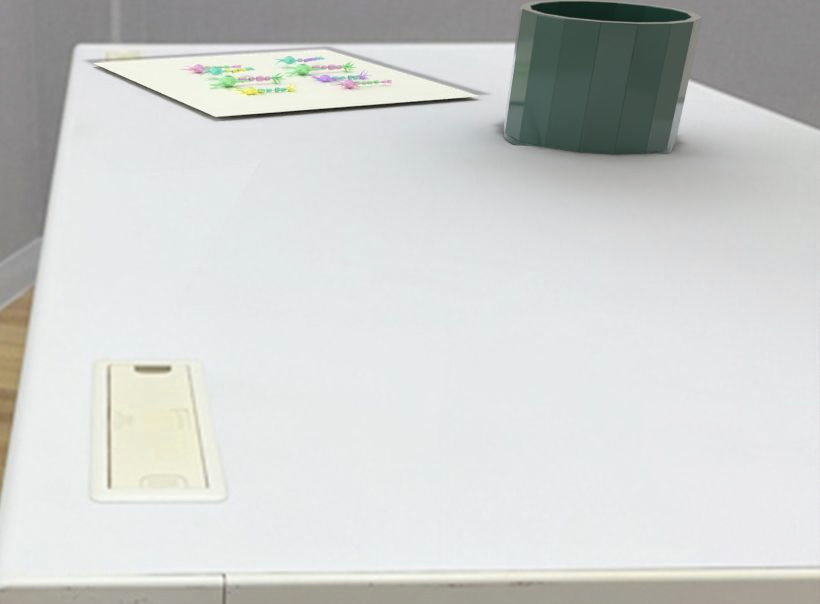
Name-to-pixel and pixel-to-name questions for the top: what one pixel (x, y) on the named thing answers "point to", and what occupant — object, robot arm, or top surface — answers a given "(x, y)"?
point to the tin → (600, 76)
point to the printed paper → (278, 82)
